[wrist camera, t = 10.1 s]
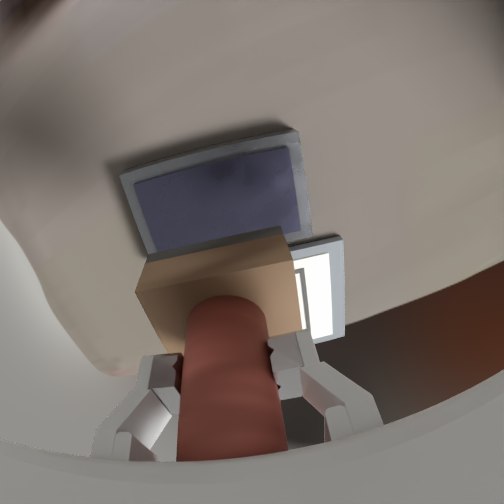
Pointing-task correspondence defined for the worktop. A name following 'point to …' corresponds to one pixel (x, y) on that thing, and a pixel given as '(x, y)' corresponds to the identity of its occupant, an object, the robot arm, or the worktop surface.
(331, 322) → the board
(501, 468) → the robot arm
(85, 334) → the worktop surface
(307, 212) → the ink pad
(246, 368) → the stamp
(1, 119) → the worktop surface
